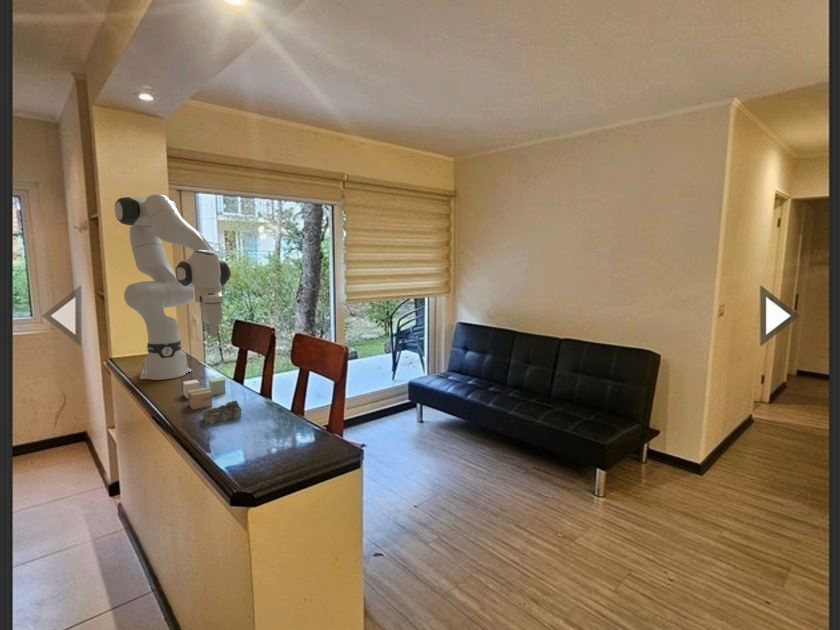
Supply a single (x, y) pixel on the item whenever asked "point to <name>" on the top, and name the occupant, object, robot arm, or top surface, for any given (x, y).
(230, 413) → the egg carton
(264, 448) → the top surface
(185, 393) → the cream cube
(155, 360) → the robot arm
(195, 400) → the oak block
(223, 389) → the green cube
